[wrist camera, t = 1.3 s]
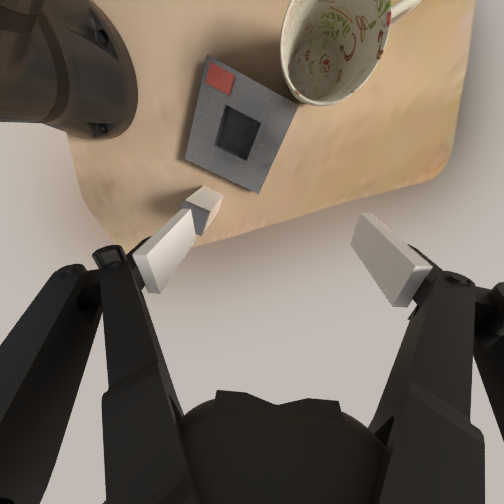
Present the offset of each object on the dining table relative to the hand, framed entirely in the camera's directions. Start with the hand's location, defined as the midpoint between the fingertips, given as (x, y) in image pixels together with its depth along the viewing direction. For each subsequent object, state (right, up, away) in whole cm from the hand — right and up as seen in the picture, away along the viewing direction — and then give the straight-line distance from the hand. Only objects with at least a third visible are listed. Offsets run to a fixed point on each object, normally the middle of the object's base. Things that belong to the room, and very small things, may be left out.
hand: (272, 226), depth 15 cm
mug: (+8, +21, +8) cm, 24 cm away
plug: (-9, +7, +18) cm, 21 cm away
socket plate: (-3, +15, +12) cm, 20 cm away
